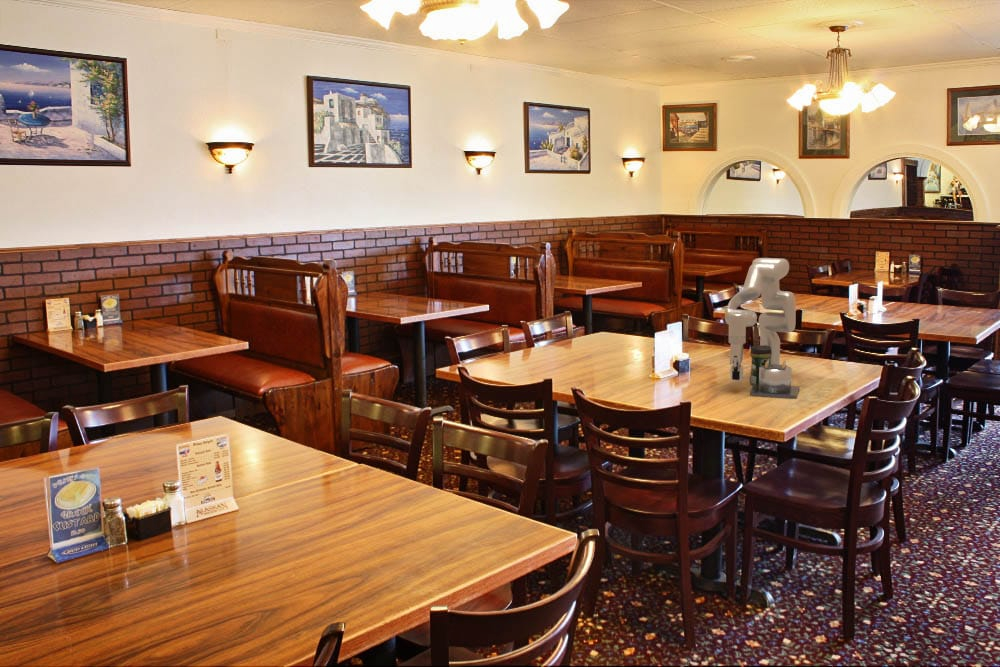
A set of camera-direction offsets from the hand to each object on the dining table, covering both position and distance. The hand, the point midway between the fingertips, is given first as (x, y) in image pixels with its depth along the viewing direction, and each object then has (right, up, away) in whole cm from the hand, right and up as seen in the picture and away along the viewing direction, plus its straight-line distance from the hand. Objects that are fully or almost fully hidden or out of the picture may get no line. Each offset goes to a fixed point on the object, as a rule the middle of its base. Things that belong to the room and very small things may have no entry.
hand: (736, 377), depth 405 cm
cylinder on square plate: (+16, -7, -4) cm, 18 cm away
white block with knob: (0, -1, 0) cm, 1 cm away
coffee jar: (+15, -4, +14) cm, 21 cm away
